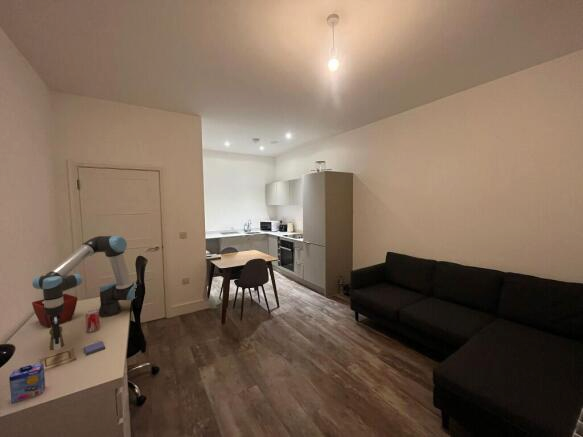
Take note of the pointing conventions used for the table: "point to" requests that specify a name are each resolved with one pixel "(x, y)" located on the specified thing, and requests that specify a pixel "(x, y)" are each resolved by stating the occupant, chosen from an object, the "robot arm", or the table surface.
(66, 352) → the board
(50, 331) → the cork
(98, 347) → the ink pad
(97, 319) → the soda can
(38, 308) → the plant pot
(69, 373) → the table surface
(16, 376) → the ink cartridge box
